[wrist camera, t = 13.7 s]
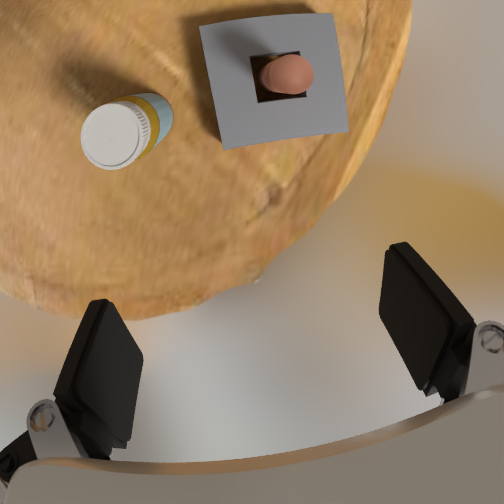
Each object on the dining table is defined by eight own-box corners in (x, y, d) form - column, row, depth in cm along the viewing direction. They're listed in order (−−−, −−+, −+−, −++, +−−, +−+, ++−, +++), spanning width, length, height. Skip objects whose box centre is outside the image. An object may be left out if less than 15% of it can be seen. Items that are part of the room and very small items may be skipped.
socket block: (201, 32, 30) (198, 26, 27) (322, 19, 30) (332, 13, 27) (223, 144, 39) (223, 150, 35) (338, 127, 39) (348, 131, 35)
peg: (254, 65, 33) (268, 56, 23) (285, 61, 33) (310, 52, 23) (259, 93, 36) (275, 96, 25) (289, 89, 36) (316, 92, 25)
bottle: (124, 94, 34) (74, 103, 21) (175, 91, 34) (148, 95, 22) (124, 143, 37) (79, 176, 24) (174, 142, 38) (149, 173, 25)
